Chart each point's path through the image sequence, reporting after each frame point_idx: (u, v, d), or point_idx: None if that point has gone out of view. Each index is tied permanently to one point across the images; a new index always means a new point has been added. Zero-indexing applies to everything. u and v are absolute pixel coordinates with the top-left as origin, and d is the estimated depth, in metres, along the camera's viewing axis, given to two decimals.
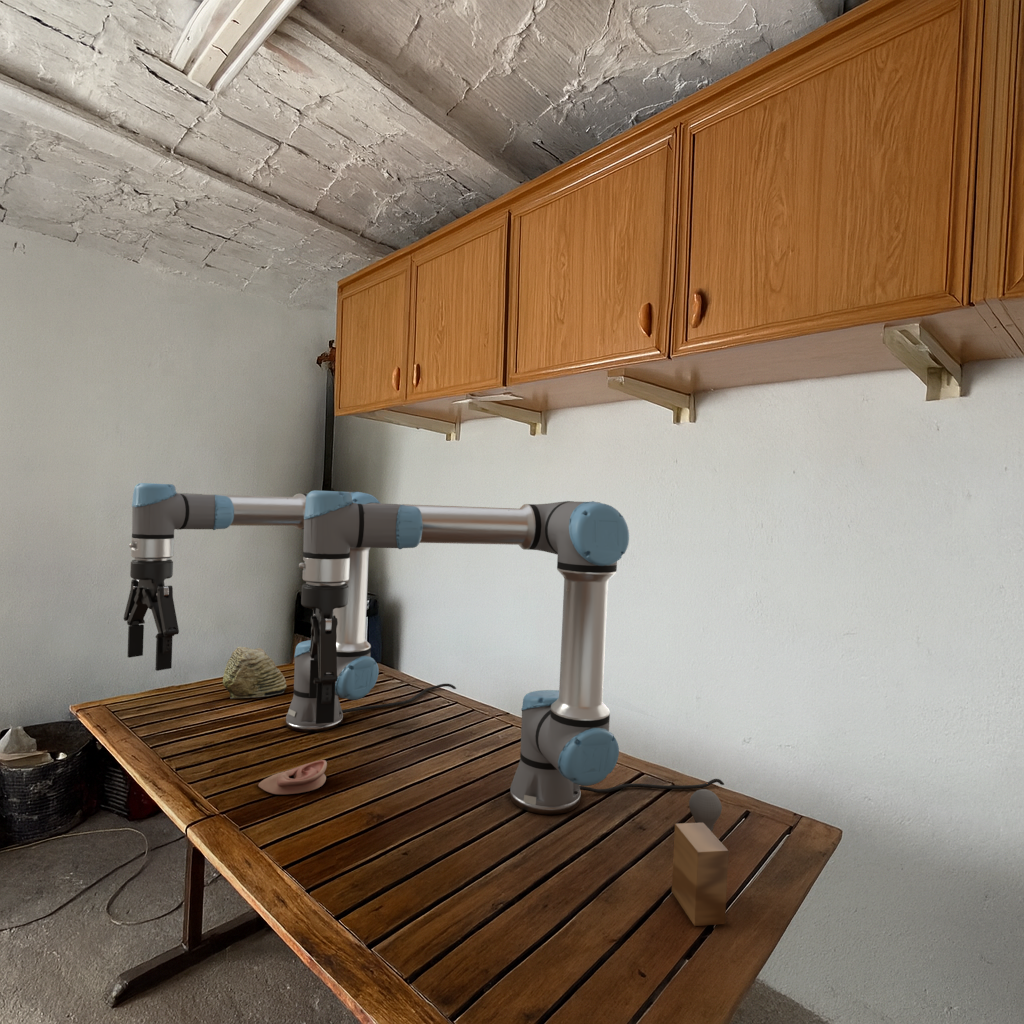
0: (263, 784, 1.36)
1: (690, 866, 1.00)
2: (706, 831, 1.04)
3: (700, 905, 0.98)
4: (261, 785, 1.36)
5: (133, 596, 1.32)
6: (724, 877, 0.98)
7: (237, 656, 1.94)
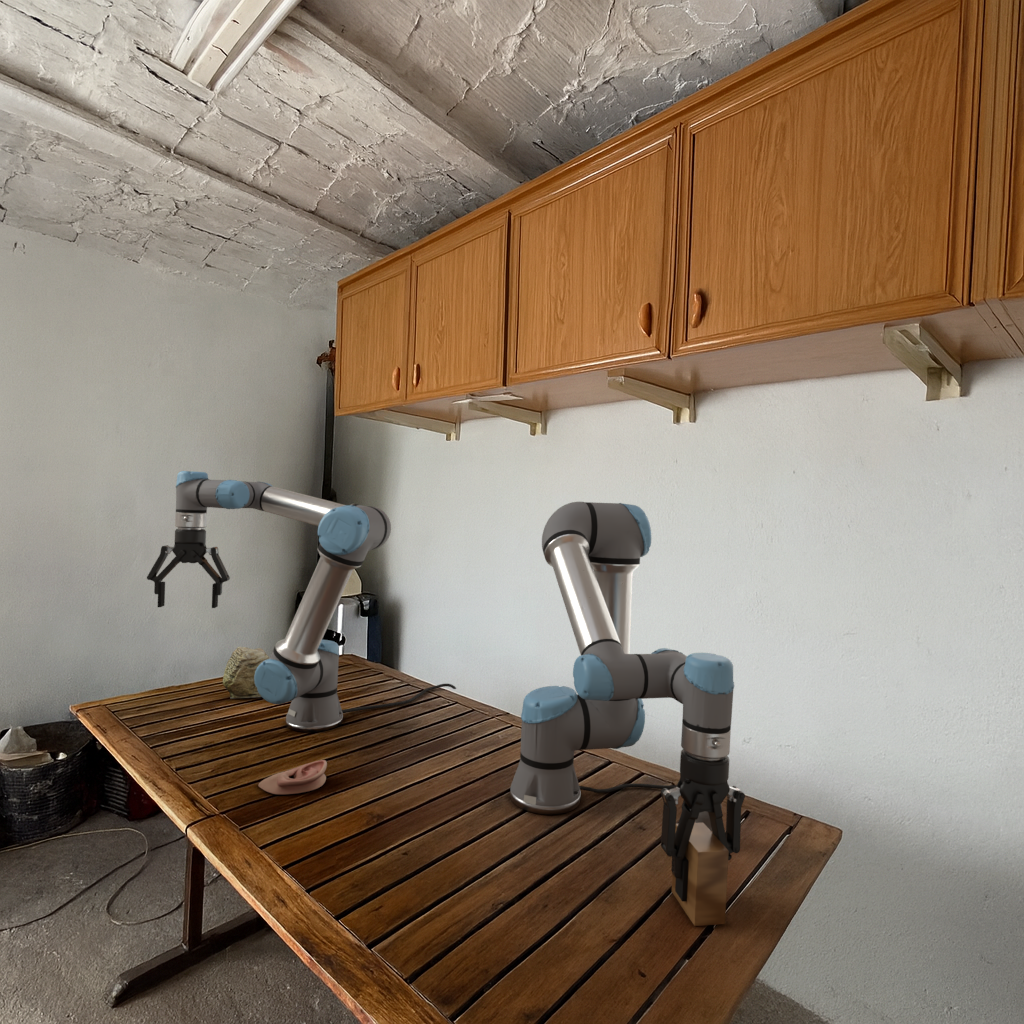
0: (263, 784, 1.36)
1: (690, 866, 1.00)
2: (706, 831, 1.04)
3: (700, 905, 0.98)
4: (261, 785, 1.36)
5: (163, 559, 1.69)
6: (724, 877, 0.98)
7: (237, 656, 1.94)
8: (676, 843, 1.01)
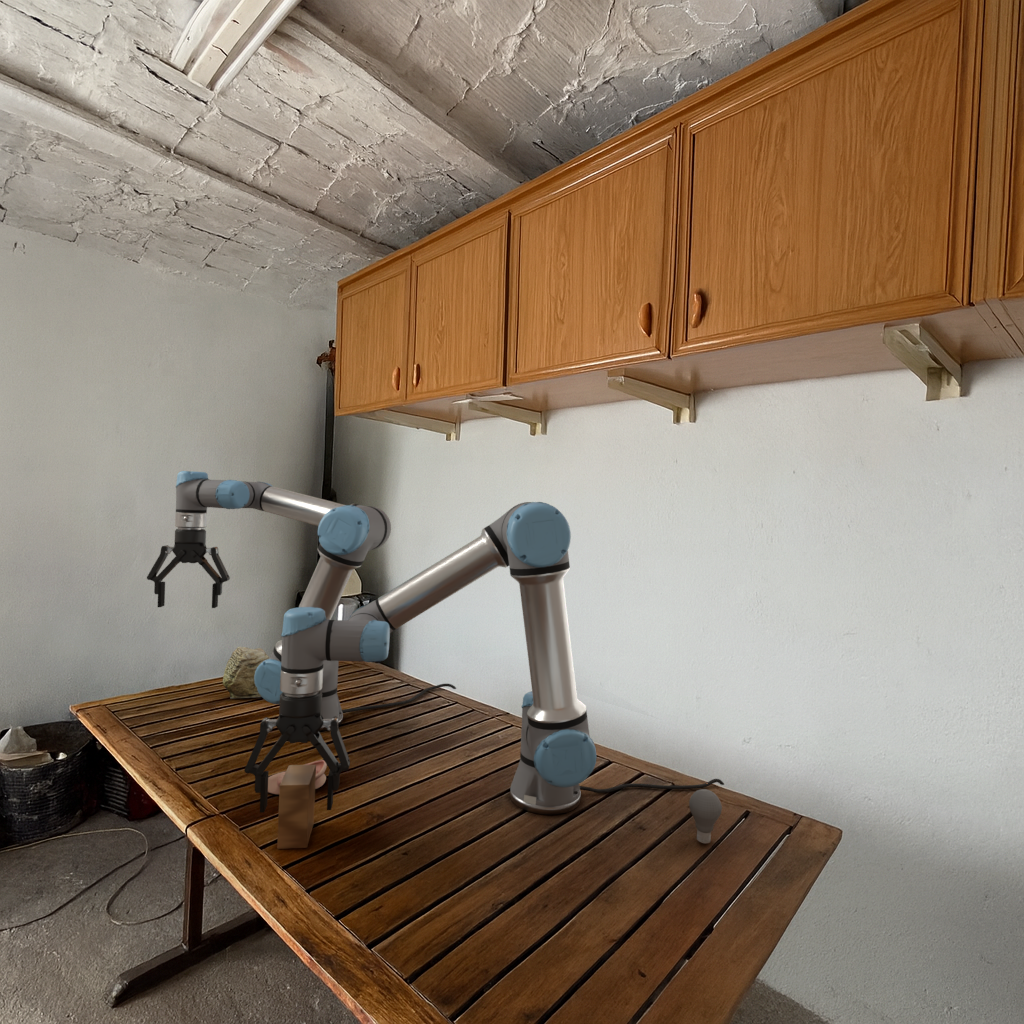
0: None
1: None
2: (308, 771, 1.20)
3: (282, 831, 1.14)
4: None
5: (163, 559, 1.69)
6: (305, 807, 1.14)
7: (237, 656, 1.94)
8: (261, 763, 1.17)
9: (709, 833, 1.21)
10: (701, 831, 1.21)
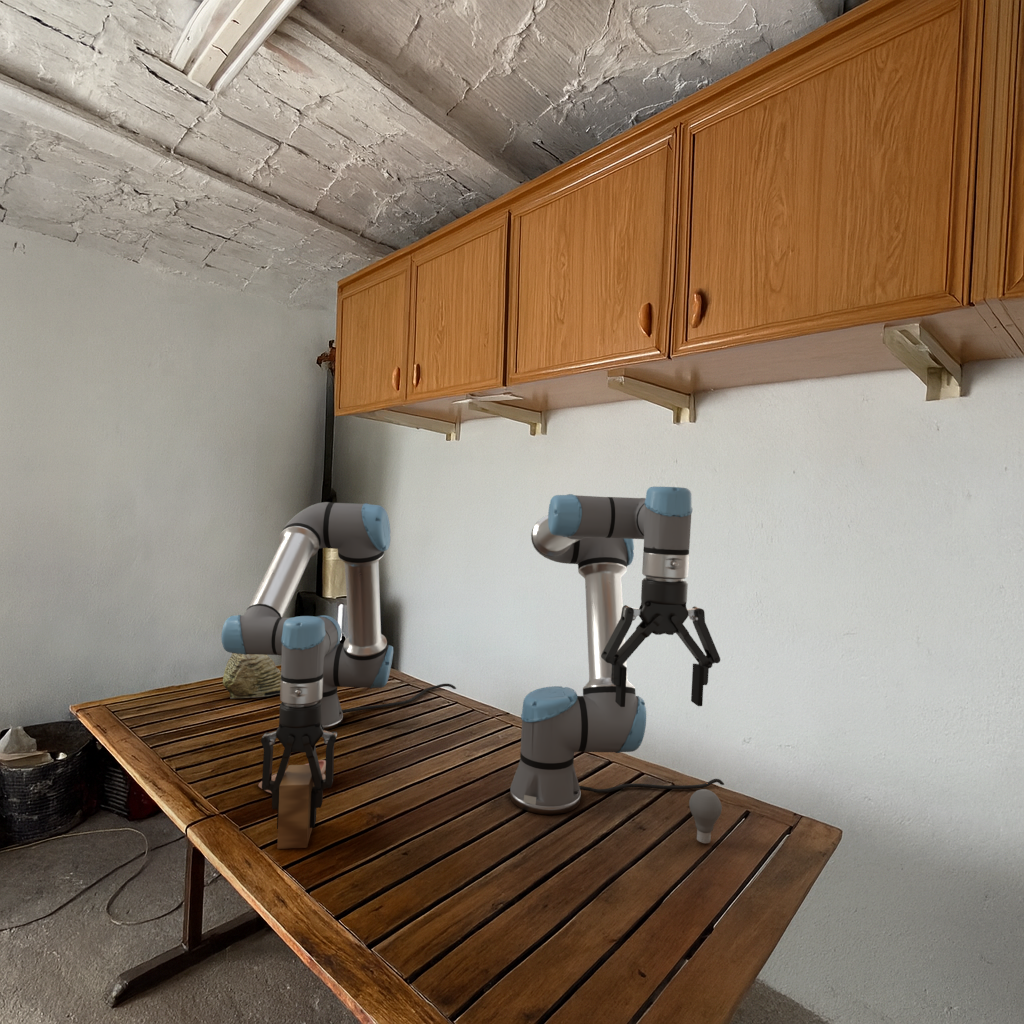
0: None
1: None
2: (308, 771, 1.20)
3: (282, 831, 1.14)
4: (261, 785, 1.36)
5: (270, 754, 1.16)
6: (305, 807, 1.14)
7: (237, 656, 1.94)
8: (619, 653, 1.05)
9: (709, 833, 1.21)
10: (701, 831, 1.21)
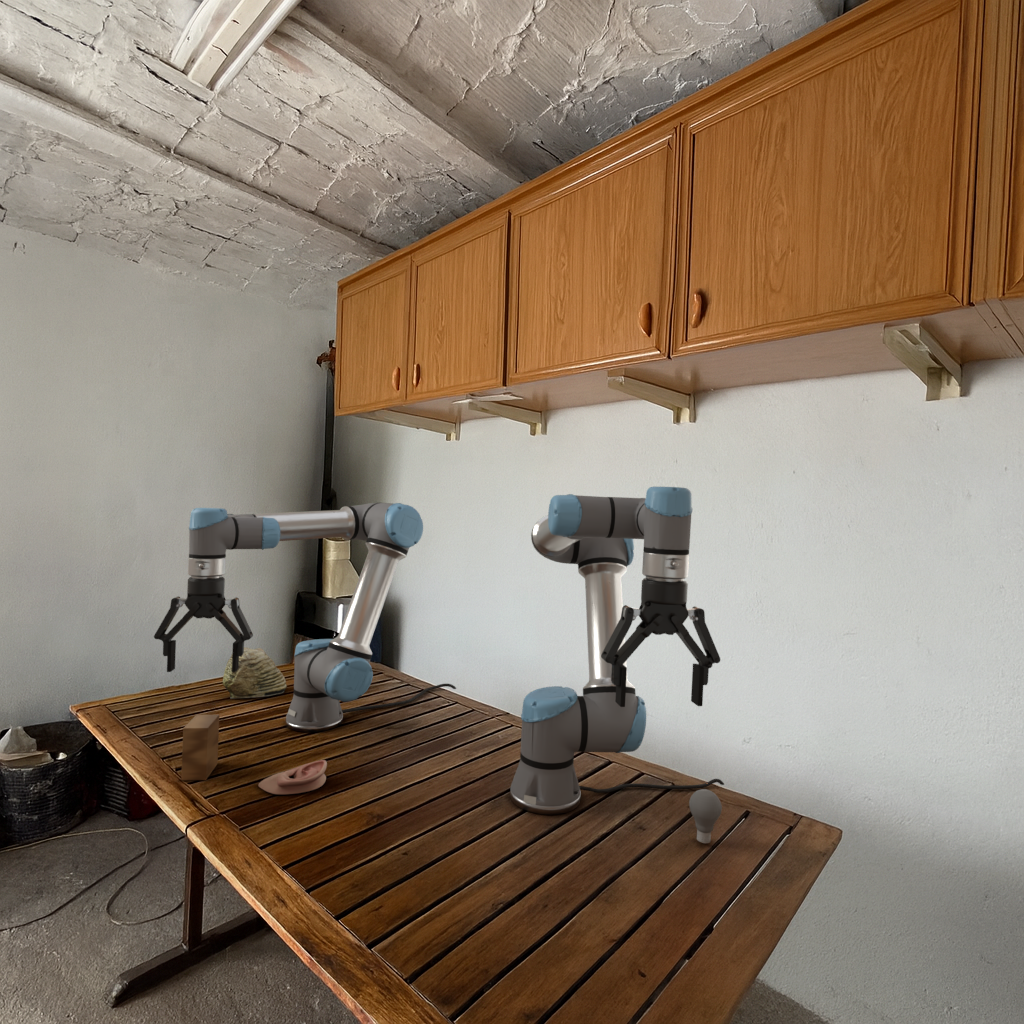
0: (263, 784, 1.36)
1: None
2: (211, 718, 1.44)
3: (185, 766, 1.38)
4: (261, 785, 1.36)
5: (173, 614, 1.41)
6: (205, 746, 1.39)
7: None
8: (619, 653, 1.05)
9: (709, 833, 1.21)
10: (701, 831, 1.21)
